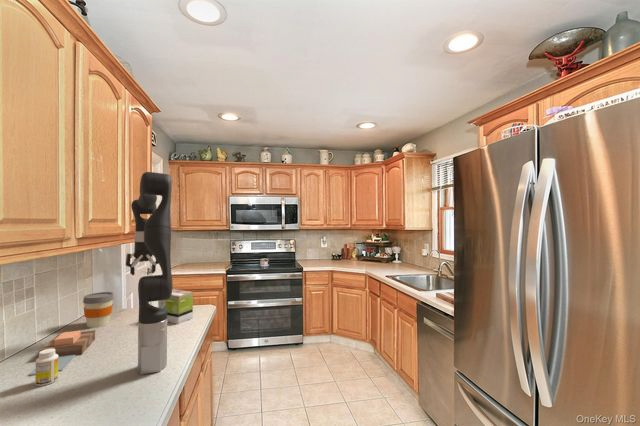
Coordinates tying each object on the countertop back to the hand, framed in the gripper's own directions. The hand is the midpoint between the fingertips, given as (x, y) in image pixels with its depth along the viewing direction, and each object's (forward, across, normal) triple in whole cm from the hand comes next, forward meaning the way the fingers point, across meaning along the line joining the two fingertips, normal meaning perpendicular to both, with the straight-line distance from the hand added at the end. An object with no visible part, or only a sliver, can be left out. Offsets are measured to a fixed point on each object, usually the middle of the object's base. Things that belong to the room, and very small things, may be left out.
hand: (143, 273), depth 145 cm
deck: (+27, -27, -2) cm, 39 cm away
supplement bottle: (+27, -36, -29) cm, 54 cm away
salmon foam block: (+23, -28, -4) cm, 37 cm away
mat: (+27, -33, -16) cm, 46 cm away
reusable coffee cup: (+27, -14, +24) cm, 39 cm away
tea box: (+28, +17, +4) cm, 33 cm away
